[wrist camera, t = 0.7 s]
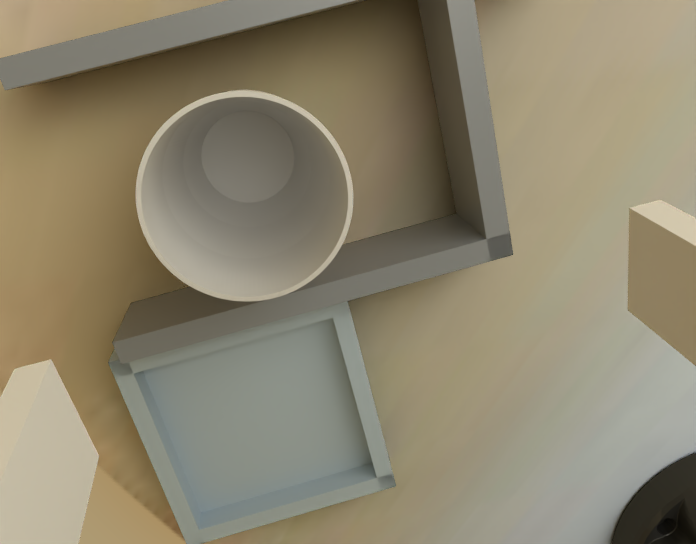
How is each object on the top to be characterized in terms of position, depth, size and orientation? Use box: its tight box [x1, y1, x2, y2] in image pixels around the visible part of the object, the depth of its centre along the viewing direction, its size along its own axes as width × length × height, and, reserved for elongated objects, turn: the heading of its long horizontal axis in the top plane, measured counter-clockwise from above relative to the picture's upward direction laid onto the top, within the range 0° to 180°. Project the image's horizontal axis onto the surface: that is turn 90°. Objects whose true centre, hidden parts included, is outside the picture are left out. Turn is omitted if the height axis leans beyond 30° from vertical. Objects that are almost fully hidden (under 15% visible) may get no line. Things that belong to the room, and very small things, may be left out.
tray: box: [108, 301, 396, 544], centre depth 37 cm, size 13×13×2 cm
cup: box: [136, 90, 353, 301], centre depth 29 cm, size 8×8×10 cm
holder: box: [0, 0, 513, 364], centre depth 31 cm, size 14×20×5 cm
